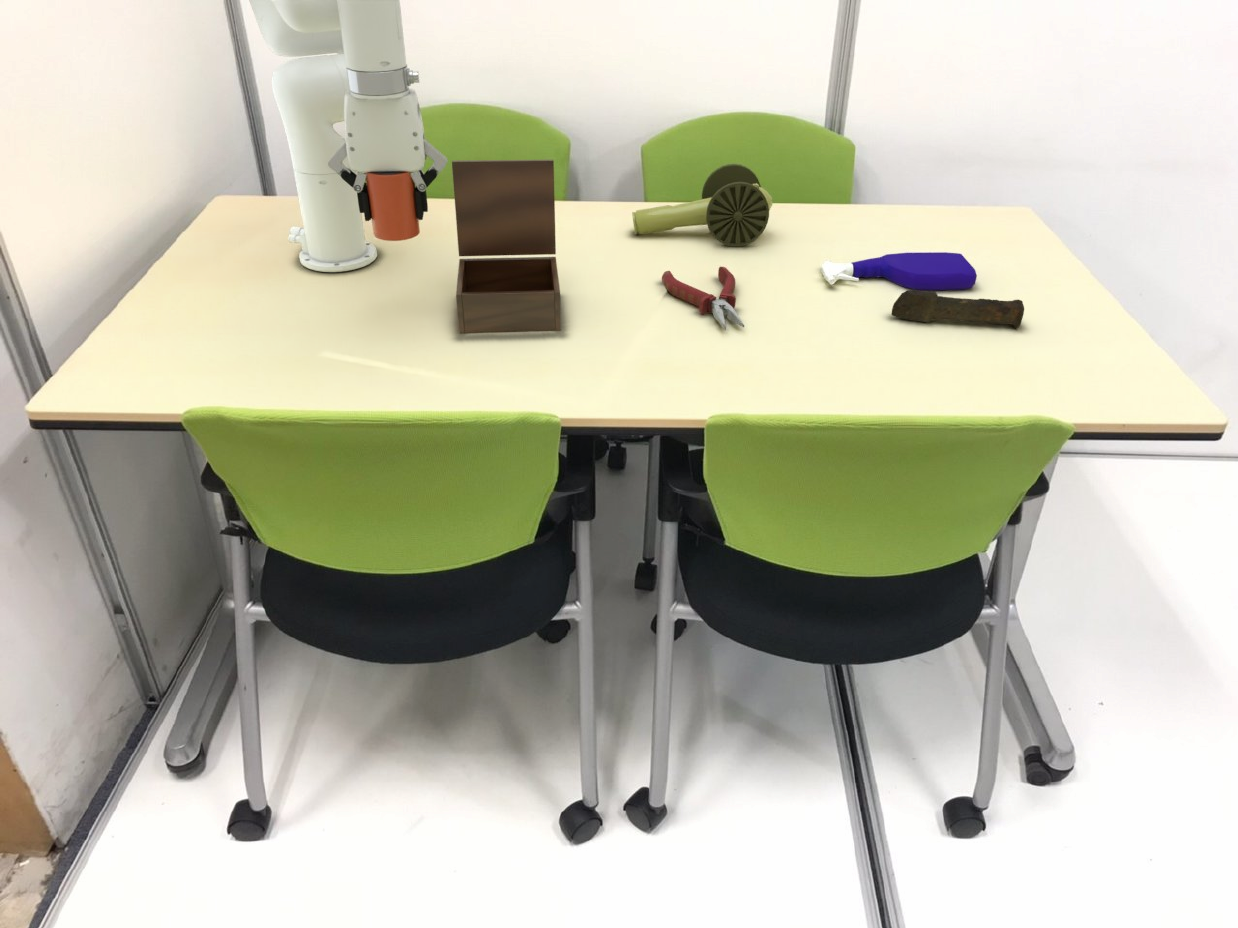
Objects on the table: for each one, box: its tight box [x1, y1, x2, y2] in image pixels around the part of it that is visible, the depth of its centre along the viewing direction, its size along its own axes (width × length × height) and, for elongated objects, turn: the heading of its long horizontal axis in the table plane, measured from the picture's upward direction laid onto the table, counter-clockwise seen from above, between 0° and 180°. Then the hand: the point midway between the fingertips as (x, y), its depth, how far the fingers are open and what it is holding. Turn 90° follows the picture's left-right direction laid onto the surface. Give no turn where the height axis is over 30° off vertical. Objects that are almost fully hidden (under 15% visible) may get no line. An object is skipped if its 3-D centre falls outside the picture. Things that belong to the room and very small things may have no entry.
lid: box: [451, 158, 557, 257], centre depth 139 cm, size 14×15×5 cm
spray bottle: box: [820, 251, 978, 291], centre depth 154 cm, size 3×11×24 cm
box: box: [455, 256, 562, 335], centre depth 138 cm, size 13×15×7 cm
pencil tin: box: [365, 172, 421, 242], centre depth 128 cm, size 6×6×9 cm
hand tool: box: [890, 289, 1025, 329], centre depth 141 cm, size 19×4×5 cm, turn 82°
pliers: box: [661, 266, 745, 331], centre depth 144 cm, size 12×20×3 cm, turn 14°
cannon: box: [631, 163, 773, 248], centre depth 166 cm, size 25×12×11 cm, turn 90°
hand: (394, 216), depth 129 cm, fingers closed on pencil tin, 6 cm apart
